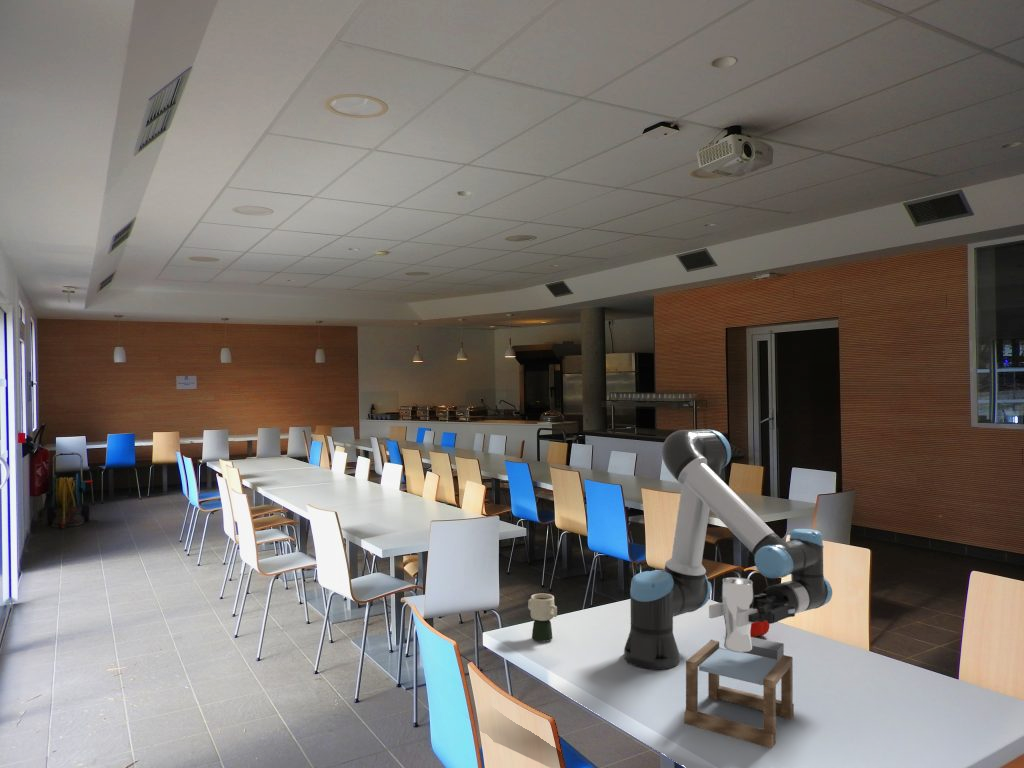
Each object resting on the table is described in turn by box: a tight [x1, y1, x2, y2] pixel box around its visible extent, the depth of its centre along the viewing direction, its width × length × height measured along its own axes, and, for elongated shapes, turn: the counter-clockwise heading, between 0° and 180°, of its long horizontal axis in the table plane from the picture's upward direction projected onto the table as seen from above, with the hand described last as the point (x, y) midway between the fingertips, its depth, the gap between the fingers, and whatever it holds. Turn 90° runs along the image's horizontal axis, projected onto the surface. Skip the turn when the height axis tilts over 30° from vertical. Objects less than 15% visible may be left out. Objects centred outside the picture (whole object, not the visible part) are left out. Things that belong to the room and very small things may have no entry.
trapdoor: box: [698, 637, 785, 686], centre depth 160 cm, size 14×22×4 cm, turn 145°
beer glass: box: [721, 576, 755, 652], centre depth 156 cm, size 7×7×15 cm
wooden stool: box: [683, 639, 795, 749], centre depth 157 cm, size 19×19×14 cm
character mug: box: [527, 593, 558, 642], centre depth 207 cm, size 11×7×13 cm, turn 48°
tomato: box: [750, 611, 770, 638], centre depth 213 cm, size 11×11×9 cm
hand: (723, 616), depth 153 cm, fingers closed on beer glass, 7 cm apart
